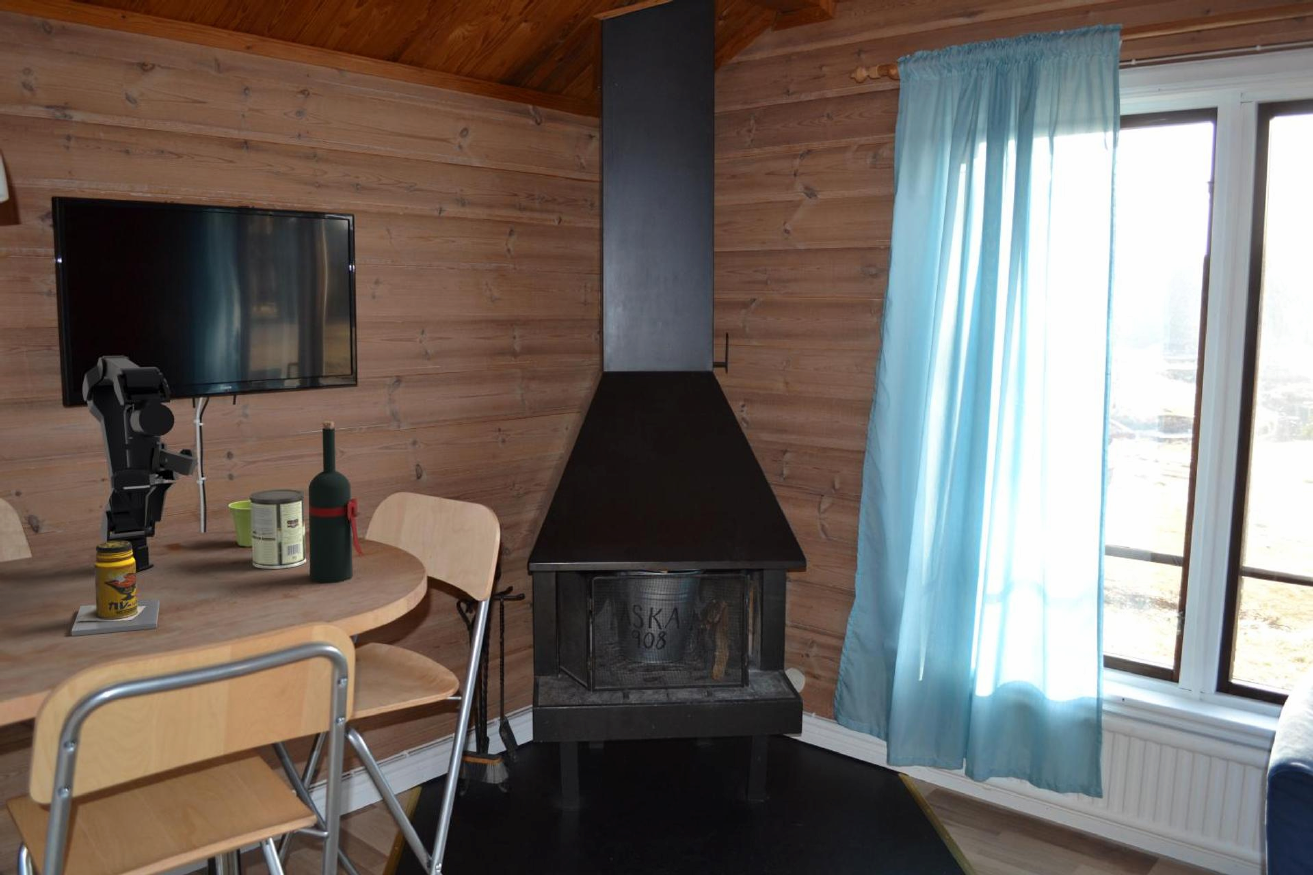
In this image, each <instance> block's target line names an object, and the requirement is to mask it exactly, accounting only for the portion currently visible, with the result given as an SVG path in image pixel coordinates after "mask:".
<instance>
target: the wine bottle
mask: <svg viewBox="0 0 1313 875" xmlns="http://www.w3.org/2000/svg"><path fill="white" fill-rule="evenodd" d="M334 426H335V421H332V420H331V421H329V420H328V421H327V420H325V421H323V422H322V464H323V465H322V468H323V469H322V471H321V472H319V473H318V474H316V475H315V476H313V478H312V479H311V481H310V483H309V485H308V529H309V530H308V532H309V534H308V535H309V537H308V539H309V540H308V541H309V580H310V581H312V582H315V583H321V584H331V583H330V582H335V583H341V582H340V581H342V582H345V581H344V580H346V581H348V580H347V579H349V578H351V579H352V578H353V576H354V572H353V569H354V566H353V546H354V547H355V550H356V552H357V553H358V556H359V558H362V557H361V555H362V556H365V555H364V553H363V551H362V549H361V546H360V543H359V537H358V530H357V521H356V520H357V519H356V518H357V517H358V499H357V497H353V498H351V497H352V494H351V493H352V492H351V490H352V489H351V483H350V480H349V479H348V478H347V477H346V476H345V474H342V473H341V472H339V471H337V470H336V433H335V431H336V428H335V427H334ZM349 580H350V579H349ZM328 582H329V583H328Z"/></svg>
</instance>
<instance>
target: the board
mask: <svg viewBox="0 0 1313 875" xmlns="http://www.w3.org/2000/svg"><path fill="white" fill-rule="evenodd" d="M137 602H138V606H146V607H145V608H144V609H143V610H142V611H141V612H140V613H139V614H138V615H137V616H136V617H134V618H133V619H132V620H122V621H97V620H96V621H77V620H78V619H80V618H81V617H82V616H84V615H85V614H86V613H87V612H88V611H89V610H90V609H91V608H92V607H96V604H90V605H89V604H88V605H80V606H79V610H78V612H77V615H76V618H75V620H74V623H73V626H72V628H71V637H75V636H84V635H85V636H86V635H97V634H107V633H117V632H118V633H119V632H130V631H138V630H139V631H140V630H149V629H150V630H151V629H152V630H153V629H157V627H158V626H157V624H158V619H159V610H160V599H148V600H137ZM138 606H137V607H138ZM94 618H95V617H94Z"/></svg>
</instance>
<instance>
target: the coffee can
mask: <svg viewBox="0 0 1313 875" xmlns="http://www.w3.org/2000/svg"><path fill="white" fill-rule="evenodd" d="M305 494H306V493H305V492H304V491H302V490H298V489H291V488H290V489H288V488H283V489H281V488H280V489H278V488H277V489H267V490H261V491H256V492H253V493H251V494H250V495H249V499H250V500H249V501H251V526H252V546H251V548H252V549H251V550H252V565H253V567H255V568H258V569H263V570H267V569H268V570H279V569H280V570H281V569H289V568H295V567H299V566H301V565H304V564H305V563H306V562H307V558H306V553H307V552H306V524H305V521H306V519H305V497H306V496H305Z"/></svg>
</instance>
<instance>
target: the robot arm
mask: <svg viewBox="0 0 1313 875" xmlns="http://www.w3.org/2000/svg"><path fill="white" fill-rule="evenodd" d="M82 396H83V400H84V402H86V403H87V407H88V411H89V413H90V414H91V415H92V416H93V417H94V418H95V419H96V420H97V421H98V422H99V423H100V429H101V434H102V435H101V436H102V441H103V442H102V443H103V446H104V452H105V460H106V466H107V470H108V477H109V483H110V490H111V491H110V492H111V494H110V495H109V497H108V499H107V501H106V504H105V505H104V511H103V513H102V517H101V522H100V526H99V530H100V538H101V540H103V542H109V541H127V542H130V543H131V544H132V552H133V555H132V557H133V558H134V559H135V563H136V573H137V572H140V571H143V570H146V569H149V568H152V567H153V568H154V567H155V564H154V563H153V562H150V555H149V545H148V539H147V538H154V537H155V535H156V523H157V522H158V523H159V522H161V521H162V519H163V514H164V508H165V505H166V504H165V503H166V498H167V495H168V493H169V490H171V489H172V487H174V486H175V485H176V484H177V482H176V481H178V480H179V479H180V477H179V475H181V476H186V477H187V476H189V477H190V475H191V476H194V472H195V469H196V467H197V466H198V465H199V462H198V459H199V458H198V457H197V456H196V454H195V451H194V449H191V448H182V449H181V451H180V452H178V451H173V450H170V449H168V445H167V443H166V442H165V441H162V436H165V435H166V434H169V433H170V432H171V430H172V429H173V427H174V425H175V419H176V418H175V416H174V414H173V411H172V410H171V408H170V407H168V406H167V405H165V404H170V403H171V398H172V392H171V390H170V388H169V384H168V382H167V380H166V379H165V378H164V375H163V372H160V369H159V368H158V367H156V366H149V367H148V366H147V367H145V366H144V367H143V366H142V367H140V365H137V364H136V363H134V362H133V361H131V360H130V357H129V356H125V355H103V356H102V357H101V356H100V357H99V358H98V361H97V364H96V365H95V366H94V367H92V368H91V369H90V370H88V371H86V373H85V374H84V379H83V382H82ZM169 481H170V482H169Z"/></svg>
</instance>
